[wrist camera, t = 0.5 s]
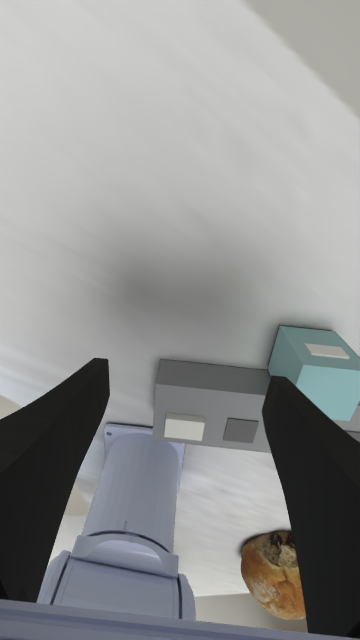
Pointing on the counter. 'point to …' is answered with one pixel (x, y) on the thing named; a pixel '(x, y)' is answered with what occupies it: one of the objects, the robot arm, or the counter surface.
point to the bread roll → (274, 574)
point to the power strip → (217, 406)
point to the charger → (319, 368)
